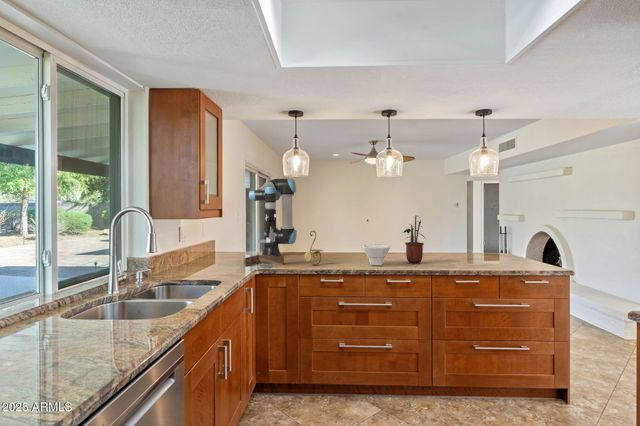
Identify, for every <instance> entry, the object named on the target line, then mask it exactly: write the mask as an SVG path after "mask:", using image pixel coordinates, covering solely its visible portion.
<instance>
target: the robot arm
mask: <svg viewBox="0 0 640 426" xmlns="http://www.w3.org/2000/svg"><path fill="white" fill-rule="evenodd" d="M296 193H297V184H296V182H295V180H294V179H293V178H289V177H288V178H273V179H270V180H267V181H266V182H264V184H263V185H262V186H260V187H259V188H257V189H255V190H250V191H249V192H248V198H249V200H250V201H252V202H257V201H260V202H261V201H264V203H265V204H264V207H265V209H264V210H265V211H264V212H265V213H264V215H266V217H264V235H263V236H264V237H263V240H266V242H270V229H274V242H271V243H264V245H263V246H264V247H263V251H262V254H261V255H269V256H282V255H281V251H280V247H279V245H294V244H295V243H296V240H297V230H296V229H295V227H294V226H293V196H294V195H295V194H296ZM280 199H281V227H280V229H279V227H277V217H275V215H276V214H277V201H279V200H280Z"/></svg>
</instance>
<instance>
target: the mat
mask: <svg viewBox="0 0 640 426" xmlns="http://www.w3.org/2000/svg"><path fill="white" fill-rule="evenodd" d="M259 265H260V267H262V269H263V268H264V269H271V268H274V266H275V264H259ZM260 267H259V268H260Z"/></svg>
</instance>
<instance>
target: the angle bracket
mask: <svg viewBox="0 0 640 426" xmlns="http://www.w3.org/2000/svg"><path fill="white" fill-rule="evenodd" d="M271 242H274V229H271V228H270V242H266V240H264V239H258V240H257V243H259V244H260V243H271Z"/></svg>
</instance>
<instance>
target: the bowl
mask: <svg viewBox="0 0 640 426" xmlns="http://www.w3.org/2000/svg"><path fill="white" fill-rule="evenodd" d="M362 248H363V251H364V253H365V254H366V256H367V258H368V261H369V264H370V265H371V266H383V264H384V261H385V258H386V257H387V255H388V254H389V253H388V252H389V251H390V249H391V246H390V245H389V244H363V245H362Z"/></svg>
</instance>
